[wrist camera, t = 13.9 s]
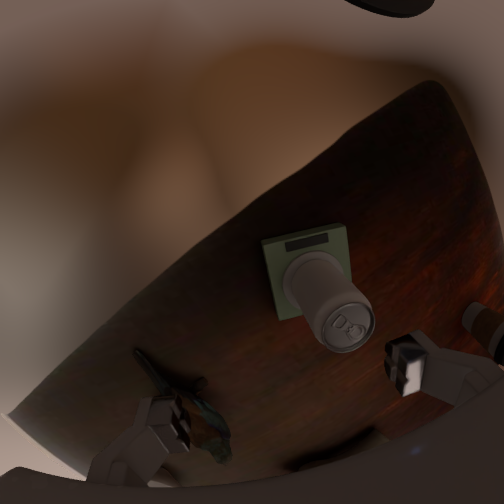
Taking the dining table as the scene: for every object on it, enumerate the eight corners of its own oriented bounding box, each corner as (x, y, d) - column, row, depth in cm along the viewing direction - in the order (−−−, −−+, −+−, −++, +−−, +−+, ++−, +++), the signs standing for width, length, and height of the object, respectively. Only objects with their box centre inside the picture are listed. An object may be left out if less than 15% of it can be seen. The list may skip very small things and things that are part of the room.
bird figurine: (114, 368, 42) (149, 482, 28) (148, 335, 41) (195, 460, 27) (171, 381, 51) (211, 473, 38) (205, 353, 50) (255, 451, 37)
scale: (260, 240, 39) (263, 246, 36) (338, 222, 39) (347, 226, 36) (275, 312, 42) (279, 323, 39) (347, 293, 42) (355, 302, 39)
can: (317, 312, 39) (349, 364, 28) (280, 289, 38) (303, 340, 26) (347, 274, 38) (390, 316, 26) (311, 248, 36) (348, 286, 25)
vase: (420, 431, 38) (296, 526, 34) (442, 468, 40) (346, 545, 36) (362, 388, 59) (268, 463, 55) (394, 430, 62) (315, 494, 58)
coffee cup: (485, 313, 48) (528, 345, 34) (460, 339, 49) (502, 376, 35) (480, 288, 46) (529, 319, 31) (454, 315, 46) (501, 353, 32)
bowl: (169, 490, 56) (168, 510, 49) (114, 468, 52) (109, 489, 45) (199, 471, 53) (198, 495, 46) (136, 447, 49) (131, 471, 43)
